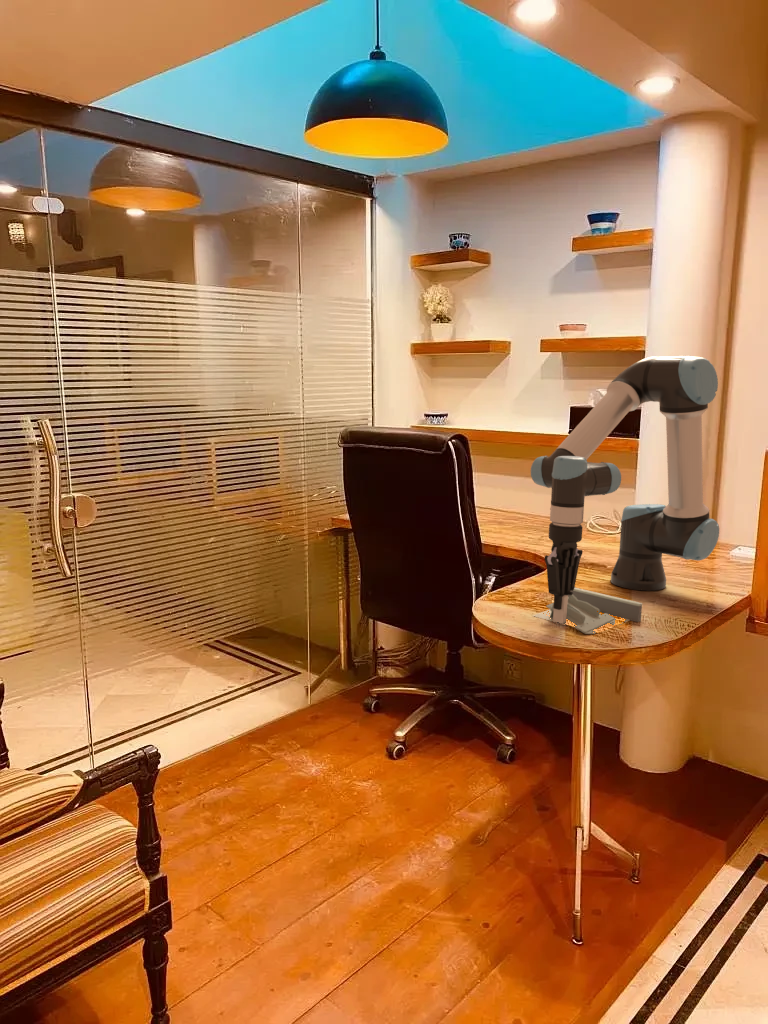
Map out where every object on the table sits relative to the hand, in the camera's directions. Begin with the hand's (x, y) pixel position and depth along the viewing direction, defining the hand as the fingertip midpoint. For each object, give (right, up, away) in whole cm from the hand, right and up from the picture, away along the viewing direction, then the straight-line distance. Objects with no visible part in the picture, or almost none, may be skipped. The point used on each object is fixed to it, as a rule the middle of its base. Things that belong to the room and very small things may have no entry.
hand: (559, 621), depth 184 cm
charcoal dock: (+8, 0, +8) cm, 11 cm away
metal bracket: (+5, -1, +4) cm, 6 cm away
